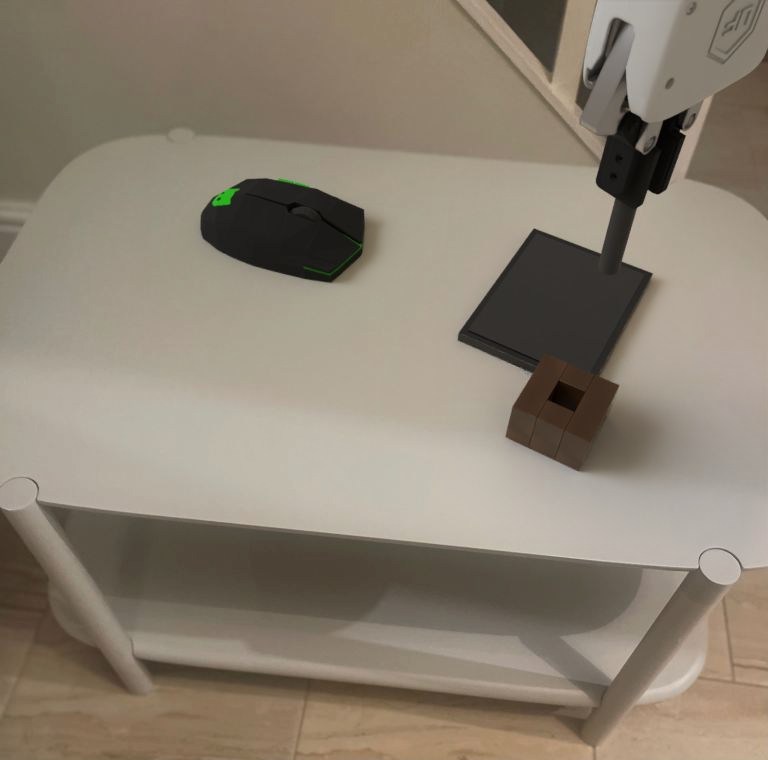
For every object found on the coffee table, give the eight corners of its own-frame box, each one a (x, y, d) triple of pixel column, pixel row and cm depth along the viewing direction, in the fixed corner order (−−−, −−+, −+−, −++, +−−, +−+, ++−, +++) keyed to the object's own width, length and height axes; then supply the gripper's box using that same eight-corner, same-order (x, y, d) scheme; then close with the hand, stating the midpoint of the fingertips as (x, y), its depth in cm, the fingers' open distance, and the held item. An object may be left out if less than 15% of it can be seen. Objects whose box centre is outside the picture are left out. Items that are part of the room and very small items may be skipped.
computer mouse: (233, 177, 82) (228, 144, 79) (383, 212, 79) (384, 179, 76) (181, 246, 75) (172, 213, 72) (342, 288, 72) (341, 256, 69)
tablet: (650, 280, 74) (653, 272, 73) (587, 397, 65) (589, 389, 64) (532, 234, 77) (533, 226, 76) (457, 339, 69) (458, 332, 68)
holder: (607, 415, 64) (619, 384, 61) (578, 471, 60) (590, 442, 57) (536, 384, 66) (545, 352, 63) (504, 436, 62) (512, 406, 59)
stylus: (622, 265, 52) (671, 98, 43) (614, 278, 51) (662, 110, 42) (602, 258, 53) (645, 91, 44) (593, 270, 52) (636, 103, 43)
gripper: (702, -96, 28) (589, 280, 42) (923, -184, 34) (759, 170, 49) (547, -157, 32) (491, 209, 46) (773, -226, 38) (662, 115, 52)
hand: (630, 187), depth 47 cm, fingers closed on stylus, 1 cm apart
